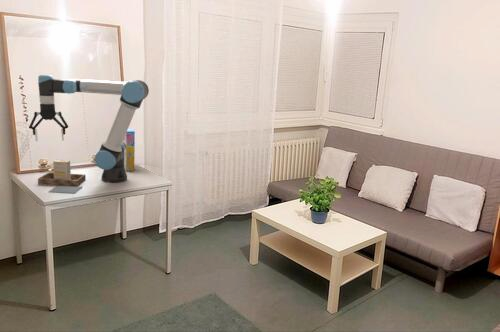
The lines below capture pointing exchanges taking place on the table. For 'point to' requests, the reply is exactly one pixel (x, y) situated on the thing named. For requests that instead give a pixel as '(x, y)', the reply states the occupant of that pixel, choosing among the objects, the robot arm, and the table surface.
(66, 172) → the supplement box
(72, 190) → the rubber mat
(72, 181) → the brown wooden tray
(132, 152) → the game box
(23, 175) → the table surface
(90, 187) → the table surface
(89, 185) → the table surface
